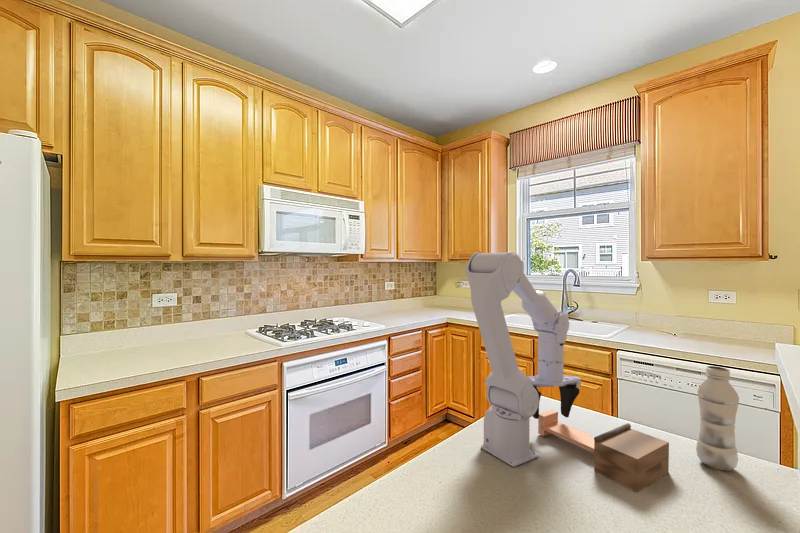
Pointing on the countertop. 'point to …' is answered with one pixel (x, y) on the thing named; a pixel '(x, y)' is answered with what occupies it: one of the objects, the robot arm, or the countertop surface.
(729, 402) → the plastic bottle
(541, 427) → the peach l-shaped bracket
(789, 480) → the countertop surface
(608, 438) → the dispenser
